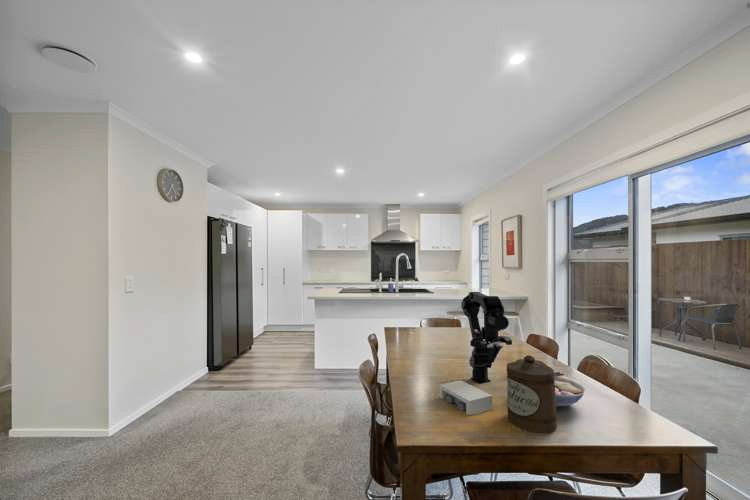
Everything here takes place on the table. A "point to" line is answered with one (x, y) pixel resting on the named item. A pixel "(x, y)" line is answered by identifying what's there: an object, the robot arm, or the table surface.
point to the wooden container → (531, 396)
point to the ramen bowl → (567, 390)
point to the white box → (467, 397)
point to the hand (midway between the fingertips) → (491, 362)
